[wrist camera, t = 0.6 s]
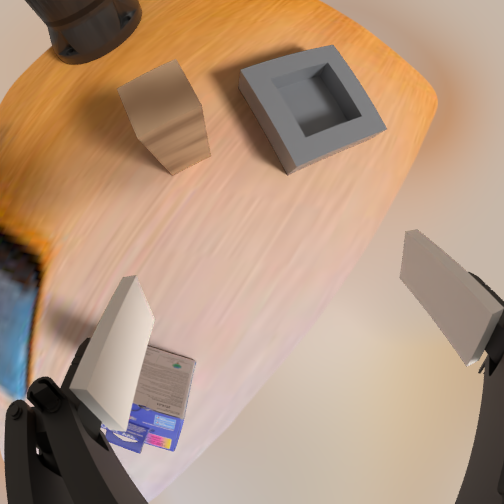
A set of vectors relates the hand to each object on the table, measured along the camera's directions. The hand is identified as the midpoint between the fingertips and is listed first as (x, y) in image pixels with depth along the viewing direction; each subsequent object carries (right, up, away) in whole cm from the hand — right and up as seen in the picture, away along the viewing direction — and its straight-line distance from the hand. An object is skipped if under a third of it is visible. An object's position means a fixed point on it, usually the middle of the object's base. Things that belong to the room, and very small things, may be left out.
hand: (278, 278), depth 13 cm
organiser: (+6, +19, +19) cm, 28 cm away
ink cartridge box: (-14, -13, +20) cm, 28 cm away
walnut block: (-9, +13, +18) cm, 24 cm away
